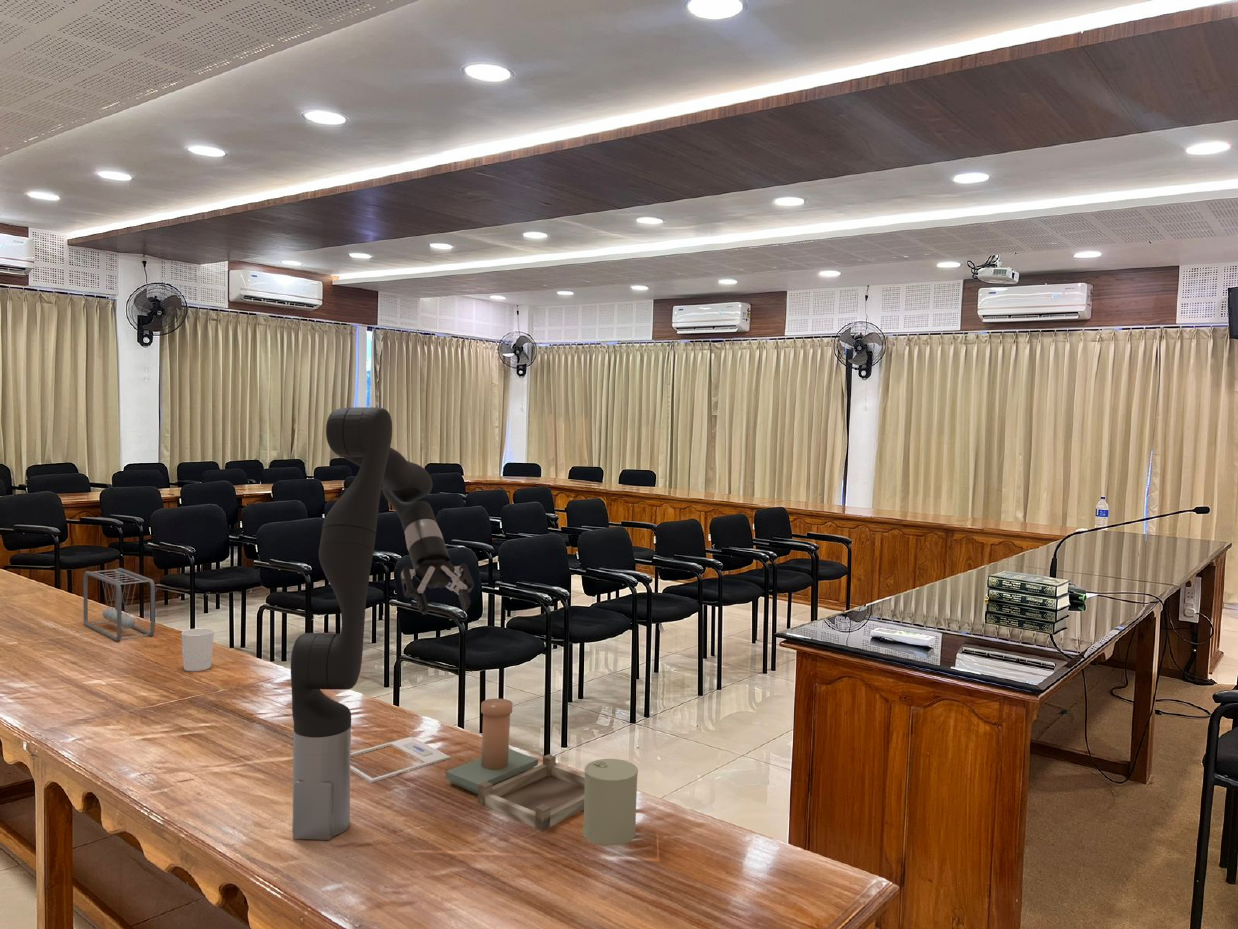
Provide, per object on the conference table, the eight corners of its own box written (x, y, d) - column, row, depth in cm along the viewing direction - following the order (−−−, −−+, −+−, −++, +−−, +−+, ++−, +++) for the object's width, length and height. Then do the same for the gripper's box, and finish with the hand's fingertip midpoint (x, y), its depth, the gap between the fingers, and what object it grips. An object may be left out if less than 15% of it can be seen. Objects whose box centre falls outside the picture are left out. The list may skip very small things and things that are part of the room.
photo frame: (449, 755, 178) (371, 779, 165) (449, 761, 178) (370, 785, 165) (411, 735, 188) (334, 756, 175) (411, 740, 188) (333, 762, 175)
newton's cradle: (155, 637, 264) (155, 579, 263) (117, 643, 256) (117, 584, 255) (118, 620, 284) (118, 566, 283) (83, 625, 276) (82, 570, 275)
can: (606, 817, 154) (608, 751, 153) (647, 834, 148) (649, 766, 147) (570, 836, 146) (573, 766, 146) (612, 854, 141) (614, 782, 140)
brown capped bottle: (507, 771, 165) (510, 709, 164) (476, 769, 165) (478, 708, 164) (512, 758, 171) (514, 699, 170) (482, 757, 171) (484, 697, 170)
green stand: (537, 774, 171) (538, 759, 171) (478, 800, 159) (478, 784, 158) (505, 762, 177) (505, 747, 177) (445, 786, 164) (445, 771, 164)
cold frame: (611, 797, 162) (612, 776, 162) (542, 833, 147) (543, 810, 147) (548, 773, 172) (549, 754, 171) (477, 805, 156) (478, 784, 156)
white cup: (181, 665, 236) (182, 629, 236) (213, 662, 239) (213, 627, 239) (180, 673, 229) (180, 636, 228) (213, 670, 232) (213, 634, 232)
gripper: (398, 536, 174) (417, 602, 165) (463, 533, 182) (485, 596, 173) (388, 558, 179) (407, 624, 170) (452, 554, 187) (473, 617, 178)
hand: (446, 610), depth 172 cm, fingers open, 8 cm apart
